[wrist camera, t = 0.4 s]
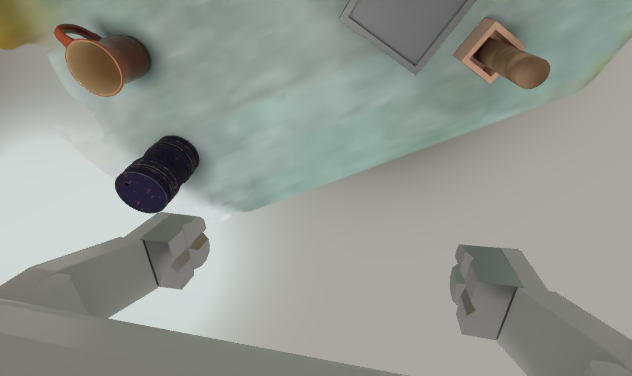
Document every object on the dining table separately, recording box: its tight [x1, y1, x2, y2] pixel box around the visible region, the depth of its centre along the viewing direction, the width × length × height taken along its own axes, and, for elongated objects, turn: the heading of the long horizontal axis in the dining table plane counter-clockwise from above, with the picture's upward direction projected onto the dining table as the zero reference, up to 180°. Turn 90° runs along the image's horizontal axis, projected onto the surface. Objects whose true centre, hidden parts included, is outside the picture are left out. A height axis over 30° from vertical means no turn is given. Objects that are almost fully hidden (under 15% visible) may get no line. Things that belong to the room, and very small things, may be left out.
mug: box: [54, 24, 149, 97], centre depth 50 cm, size 12×9×10 cm
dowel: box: [472, 37, 550, 89], centre depth 42 cm, size 4×4×16 cm
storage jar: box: [115, 136, 199, 213], centre depth 61 cm, size 10×10×15 cm
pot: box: [453, 18, 526, 84], centre depth 48 cm, size 7×7×4 cm
